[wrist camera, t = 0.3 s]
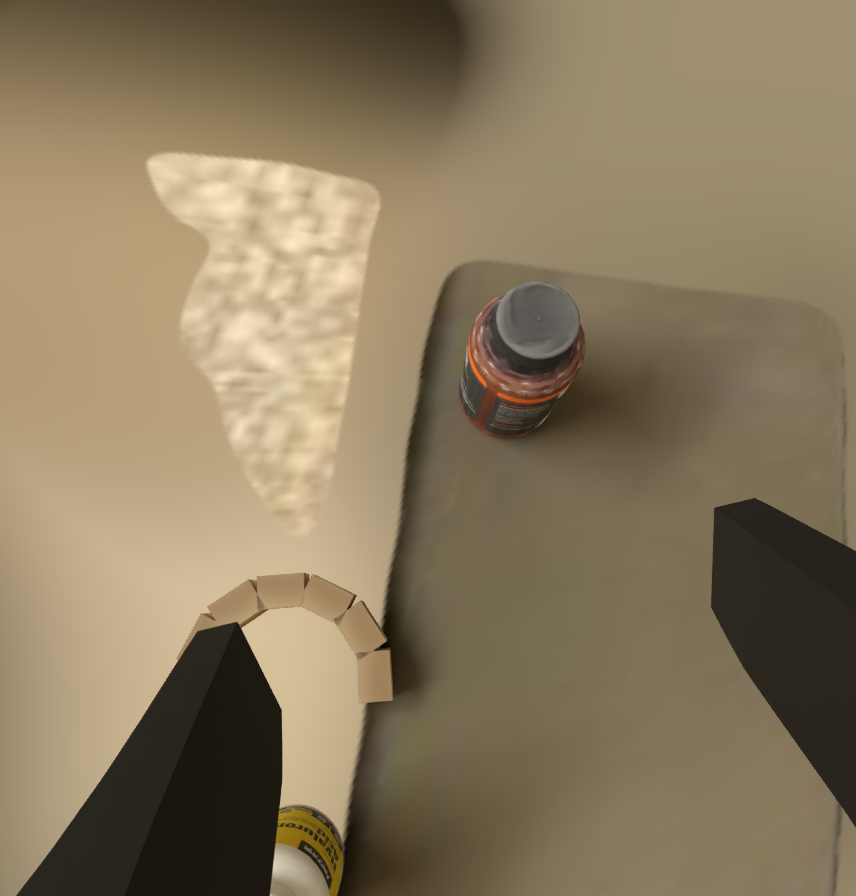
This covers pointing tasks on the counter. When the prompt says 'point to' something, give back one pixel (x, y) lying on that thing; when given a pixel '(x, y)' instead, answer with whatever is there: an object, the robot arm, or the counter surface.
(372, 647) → the oak collar
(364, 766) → the counter surface
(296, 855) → the supplement bottle
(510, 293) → the supplement bottle
